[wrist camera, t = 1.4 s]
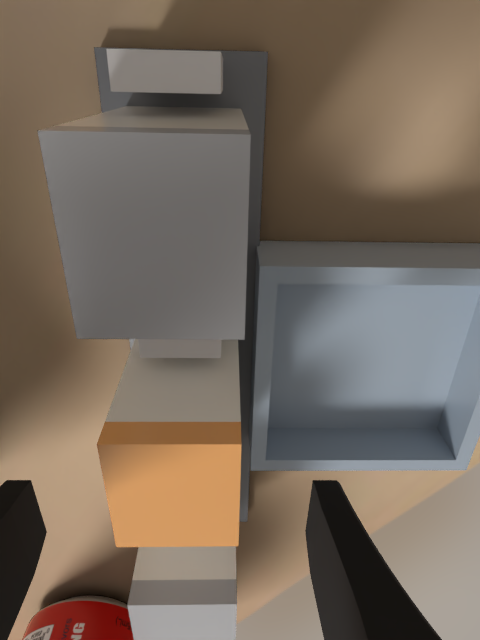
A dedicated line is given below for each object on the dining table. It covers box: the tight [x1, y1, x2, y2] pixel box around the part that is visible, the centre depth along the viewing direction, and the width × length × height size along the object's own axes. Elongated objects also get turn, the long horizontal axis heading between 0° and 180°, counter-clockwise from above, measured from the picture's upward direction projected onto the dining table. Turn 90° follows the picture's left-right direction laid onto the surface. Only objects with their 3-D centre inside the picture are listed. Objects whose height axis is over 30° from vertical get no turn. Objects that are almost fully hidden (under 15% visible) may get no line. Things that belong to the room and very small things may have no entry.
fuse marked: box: [97, 339, 242, 547], centre depth 15 cm, size 4×4×7 cm
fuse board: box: [94, 47, 268, 522], centre depth 16 cm, size 5×21×5 cm, turn 179°
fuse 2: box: [127, 546, 237, 640], centre depth 18 cm, size 4×4×7 cm
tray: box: [249, 241, 480, 471], centre depth 17 cm, size 9×9×2 cm
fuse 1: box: [38, 106, 251, 340], centre depth 11 cm, size 4×4×7 cm
